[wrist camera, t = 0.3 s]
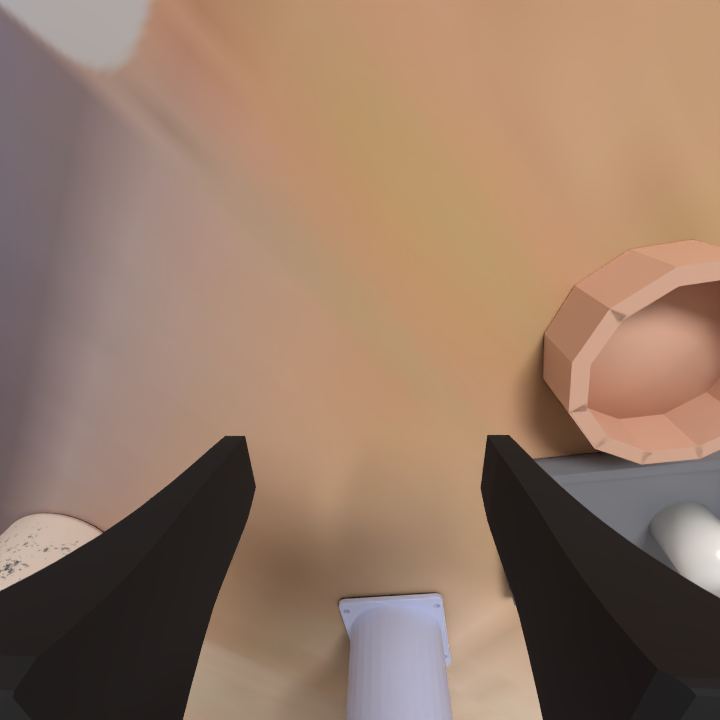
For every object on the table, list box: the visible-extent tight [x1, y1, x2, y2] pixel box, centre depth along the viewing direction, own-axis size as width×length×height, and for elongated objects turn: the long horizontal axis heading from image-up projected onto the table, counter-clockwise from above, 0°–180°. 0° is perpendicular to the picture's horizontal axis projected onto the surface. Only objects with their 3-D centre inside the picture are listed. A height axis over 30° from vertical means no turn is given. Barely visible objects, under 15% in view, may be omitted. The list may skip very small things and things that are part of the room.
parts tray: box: [509, 450, 720, 606], centre depth 25 cm, size 12×14×2 cm
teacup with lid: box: [0, 513, 103, 591], centre depth 25 cm, size 12×9×12 cm
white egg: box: [649, 502, 720, 598], centre depth 23 cm, size 4×4×4 cm
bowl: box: [543, 240, 720, 465], centre depth 19 cm, size 10×10×3 cm
